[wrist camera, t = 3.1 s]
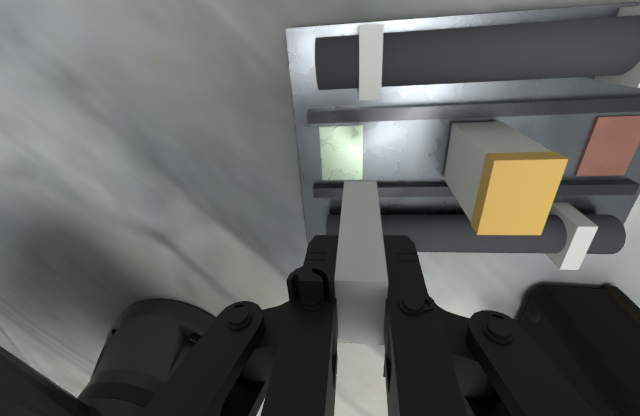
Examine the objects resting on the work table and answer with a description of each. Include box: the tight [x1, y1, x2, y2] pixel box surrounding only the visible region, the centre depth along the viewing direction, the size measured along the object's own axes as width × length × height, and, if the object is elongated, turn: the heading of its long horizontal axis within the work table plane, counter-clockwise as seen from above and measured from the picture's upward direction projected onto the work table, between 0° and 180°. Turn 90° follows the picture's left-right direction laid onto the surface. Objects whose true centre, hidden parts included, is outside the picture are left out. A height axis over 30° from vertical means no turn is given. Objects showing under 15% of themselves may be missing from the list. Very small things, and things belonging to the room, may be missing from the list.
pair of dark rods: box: [315, 6, 640, 270], centre depth 20 cm, size 20×16×3 cm
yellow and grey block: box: [444, 121, 568, 235], centre depth 18 cm, size 3×4×7 cm
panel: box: [285, 2, 640, 243], centre depth 21 cm, size 24×16×3 cm, turn 94°
